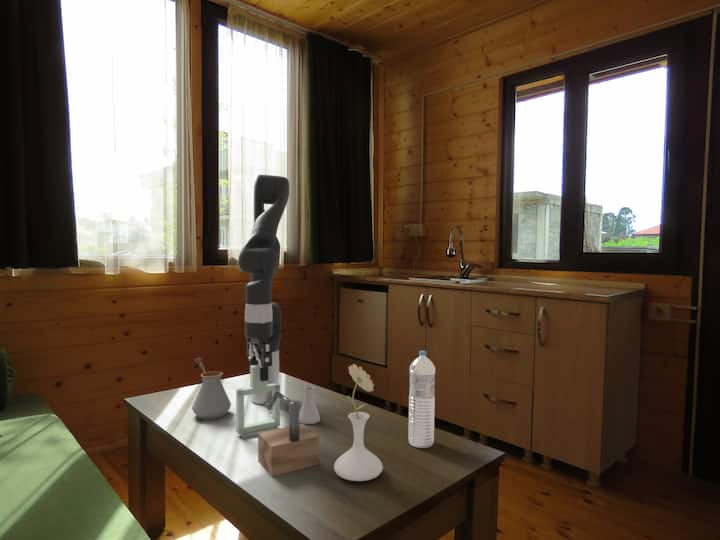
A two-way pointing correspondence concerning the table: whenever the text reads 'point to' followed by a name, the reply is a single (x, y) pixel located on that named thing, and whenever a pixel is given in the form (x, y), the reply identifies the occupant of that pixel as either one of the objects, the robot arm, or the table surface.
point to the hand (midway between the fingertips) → (258, 377)
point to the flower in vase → (358, 439)
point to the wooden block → (287, 450)
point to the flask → (308, 408)
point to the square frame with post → (255, 388)
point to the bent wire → (292, 414)
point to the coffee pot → (211, 396)
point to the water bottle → (421, 402)
